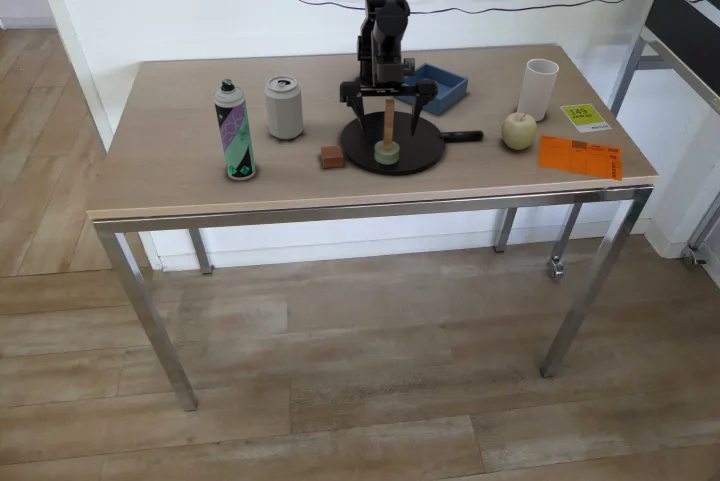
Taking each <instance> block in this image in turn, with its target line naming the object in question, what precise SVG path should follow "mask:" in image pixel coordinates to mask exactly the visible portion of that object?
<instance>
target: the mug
mask: <svg viewBox="0 0 720 481" xmlns="http://www.w3.org/2000/svg"><path fill="white" fill-rule="evenodd" d="M559 70H560V67H559V65H558V64H557V63H556V62H554V61H551V60H550V59H545V58H531V59H530V60H528V61H527V63H526V67H525V72H524V76H523V80H522V85H521V88H520V89H521V90H520V94H519V99H518V104H517V108H516V113H524V114H525V113H526V114H528V115H530V116H532V117H533V118H534V119H535V121H536V122H540V121H542V120H543V119H544V117H545V115H546V111H547V110H548V106H549V103H550V99H551V96H552V93H553V89H554V88H555V87H554V86H555V83H556V80H557V77H558V73H559Z"/></svg>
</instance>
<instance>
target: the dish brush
mask: <svg viewBox="0 0 720 481" xmlns="http://www.w3.org/2000/svg"><path fill="white" fill-rule="evenodd" d="M384 101H385V102H384V111H385V116H384V135H383V141H380V142H378V143H377V144H376V145H375V154H374V157H375V160H376V161H377V162H379V163H381V164H386V165H388V164H393V163H395V162H397V161H398V159H399V150H400V147H399V145H398V144H397V143H396V142H394V141H392V136H393V121H394V111H395V108H396V107H395V106H396V103H395V99H394V98H385V100H384Z"/></svg>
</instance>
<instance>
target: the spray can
mask: <svg viewBox="0 0 720 481" xmlns="http://www.w3.org/2000/svg"><path fill="white" fill-rule="evenodd" d="M213 102H214V108H215V112H216V119H217V123H218V128H219V129H218V130H219V133H220V139H221V144H222V151H223V156H224V158H225V166H226V170H227V175H228V177H229V178H231V179H232V180H234V181H246V180H250V179H251V178H253V177H254V175H255V174H256V164H255V157H254V150H253V143H252V142H253V141H252V136H251V129H250V123H249V117H248V115H249V114H248V109H247V101H246V95H245V92H244V90H243V89H242V88H240V87H238V86H236V85H234V84H233V81H232V79H228V78H225V79H223V80H222V81H221V86H220V87H219V88H218V89H217V90H215V91H214V92H213Z"/></svg>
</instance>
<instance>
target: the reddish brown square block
mask: <svg viewBox="0 0 720 481" xmlns="http://www.w3.org/2000/svg"><path fill="white" fill-rule="evenodd" d="M320 158H321V162H322V166H323V169H331V168H341V167H344V153H343V151H342V148H341V144H338V145H327V146H326V145H325V146H320Z"/></svg>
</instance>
